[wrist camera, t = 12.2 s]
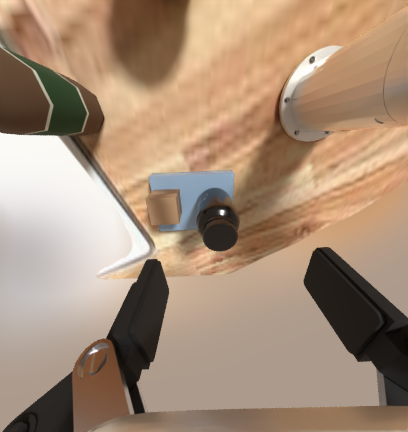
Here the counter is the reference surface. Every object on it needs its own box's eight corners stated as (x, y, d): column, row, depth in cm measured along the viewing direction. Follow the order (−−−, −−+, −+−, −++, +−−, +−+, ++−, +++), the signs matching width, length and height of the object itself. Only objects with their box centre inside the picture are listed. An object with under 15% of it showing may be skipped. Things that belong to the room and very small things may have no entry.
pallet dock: (231, 170, 31) (234, 173, 28) (229, 221, 36) (231, 227, 34) (152, 173, 31) (148, 177, 28) (162, 224, 36) (159, 231, 34)
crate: (179, 188, 29) (175, 197, 25) (182, 211, 32) (179, 223, 27) (153, 189, 29) (145, 199, 25) (158, 213, 32) (151, 225, 27)
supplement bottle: (196, 187, 29) (193, 216, 19) (231, 185, 29) (248, 213, 19) (198, 218, 33) (197, 258, 22) (230, 217, 32) (244, 256, 22)
